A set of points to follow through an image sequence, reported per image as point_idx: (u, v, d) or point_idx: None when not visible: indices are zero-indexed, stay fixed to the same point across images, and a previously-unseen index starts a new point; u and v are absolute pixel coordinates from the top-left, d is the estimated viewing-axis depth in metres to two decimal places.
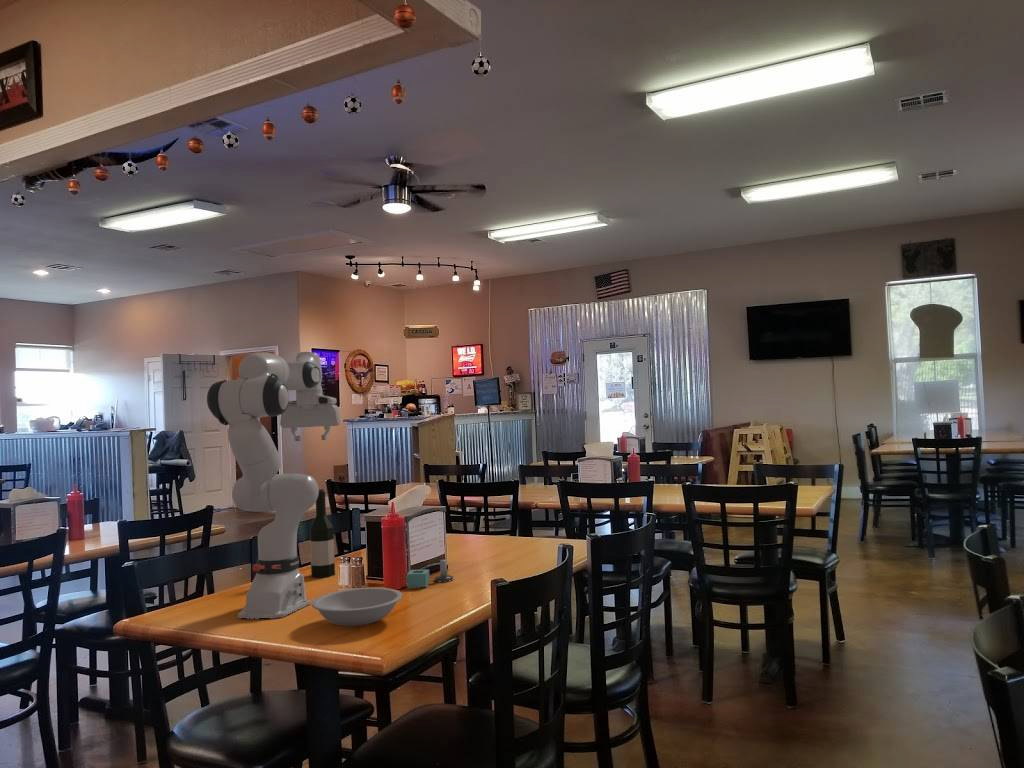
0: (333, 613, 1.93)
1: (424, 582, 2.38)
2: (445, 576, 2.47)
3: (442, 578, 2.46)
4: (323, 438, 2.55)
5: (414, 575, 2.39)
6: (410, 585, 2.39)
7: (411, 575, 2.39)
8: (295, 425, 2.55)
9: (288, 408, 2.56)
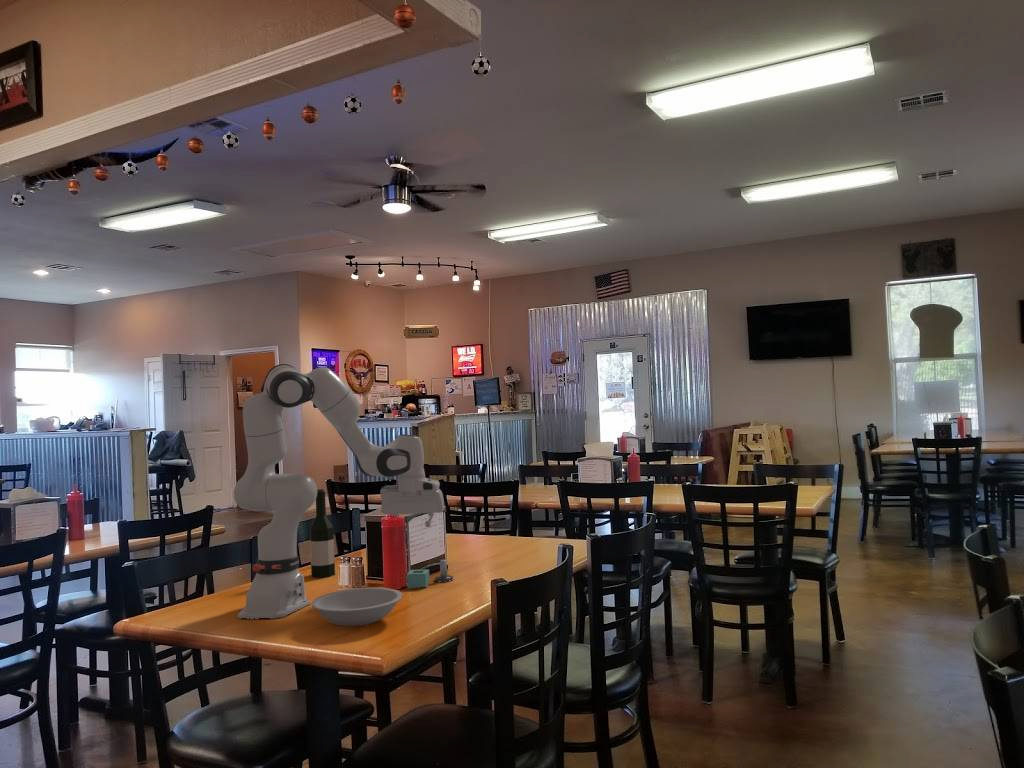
0: (333, 613, 1.93)
1: (424, 582, 2.38)
2: (445, 576, 2.47)
3: (442, 578, 2.46)
4: (427, 525, 2.41)
5: (414, 575, 2.39)
6: (410, 585, 2.39)
7: (411, 575, 2.39)
8: (397, 512, 2.41)
9: (390, 494, 2.41)
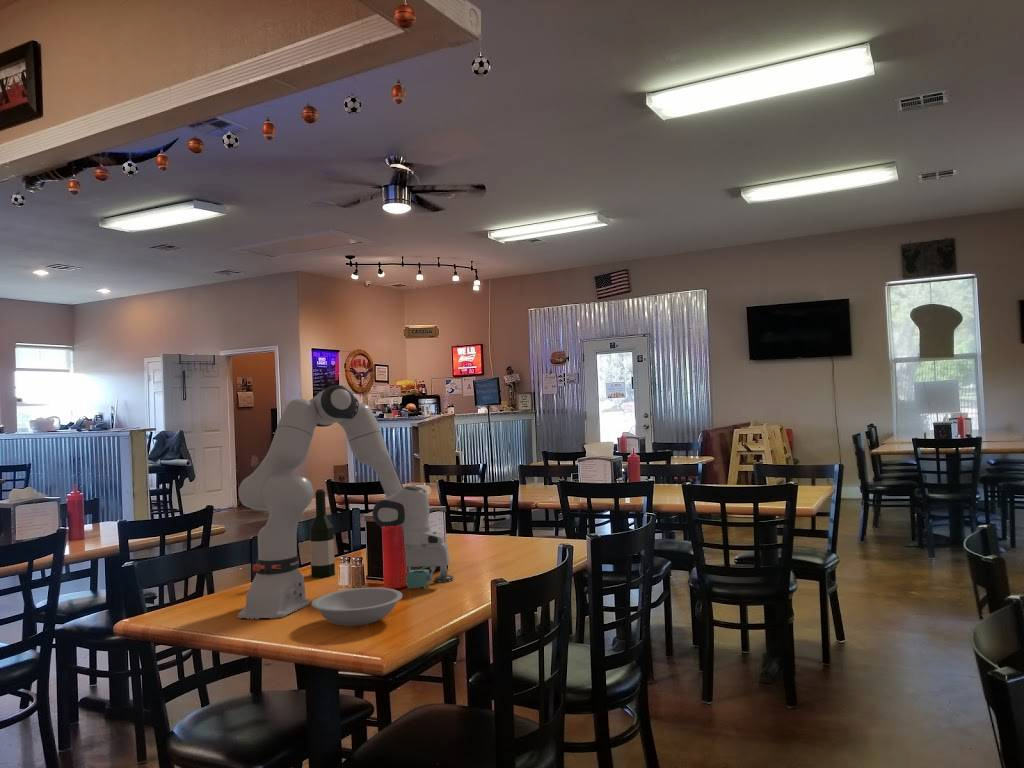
0: (333, 613, 1.93)
1: (424, 582, 2.38)
2: (445, 576, 2.47)
3: (442, 578, 2.46)
4: (428, 579, 2.40)
5: (414, 575, 2.39)
6: (410, 585, 2.39)
7: (411, 575, 2.39)
8: None
9: None
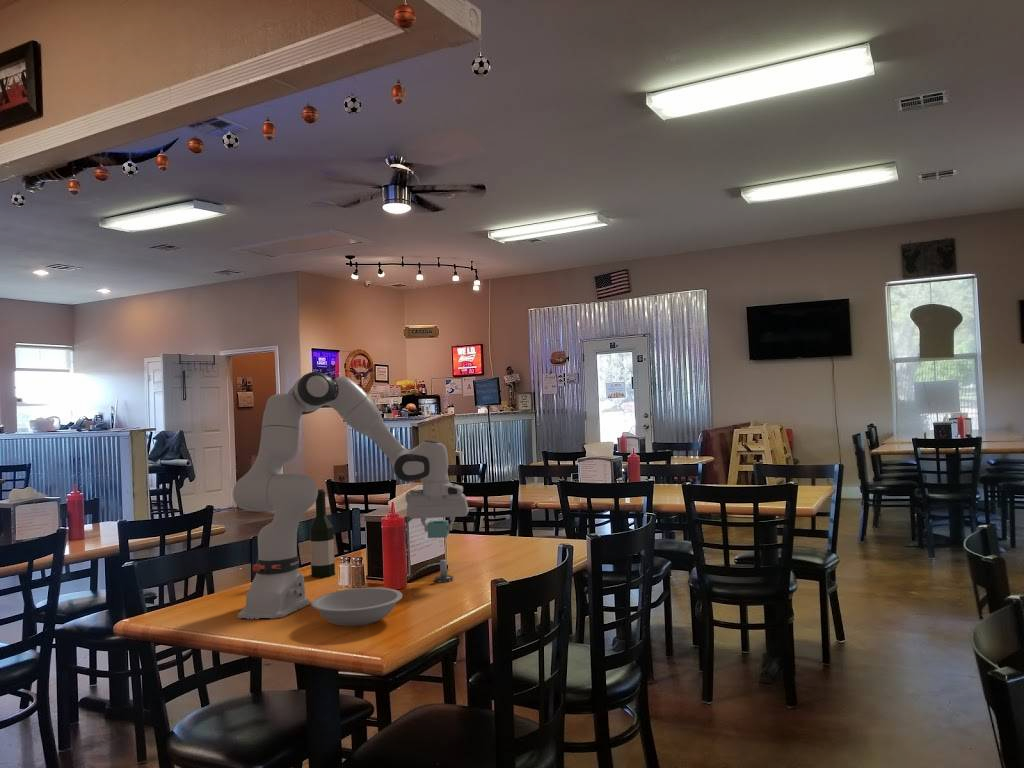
0: (333, 613, 1.93)
1: (444, 532, 2.45)
2: (445, 576, 2.47)
3: (442, 578, 2.46)
4: (448, 529, 2.47)
5: (434, 525, 2.45)
6: (430, 535, 2.45)
7: (431, 525, 2.45)
8: (423, 516, 2.47)
9: (415, 498, 2.47)
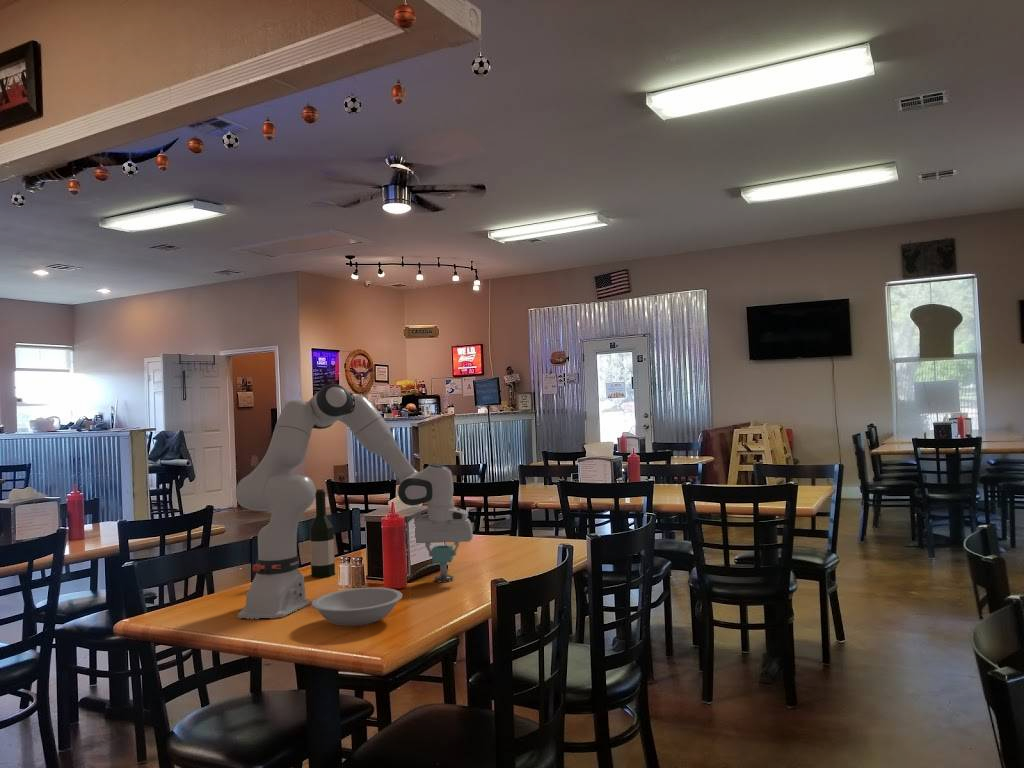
0: (333, 613, 1.93)
1: (449, 557, 2.45)
2: (445, 576, 2.47)
3: (442, 578, 2.46)
4: (453, 554, 2.47)
5: (439, 550, 2.45)
6: (435, 559, 2.45)
7: (436, 550, 2.45)
8: (427, 540, 2.47)
9: (420, 523, 2.47)
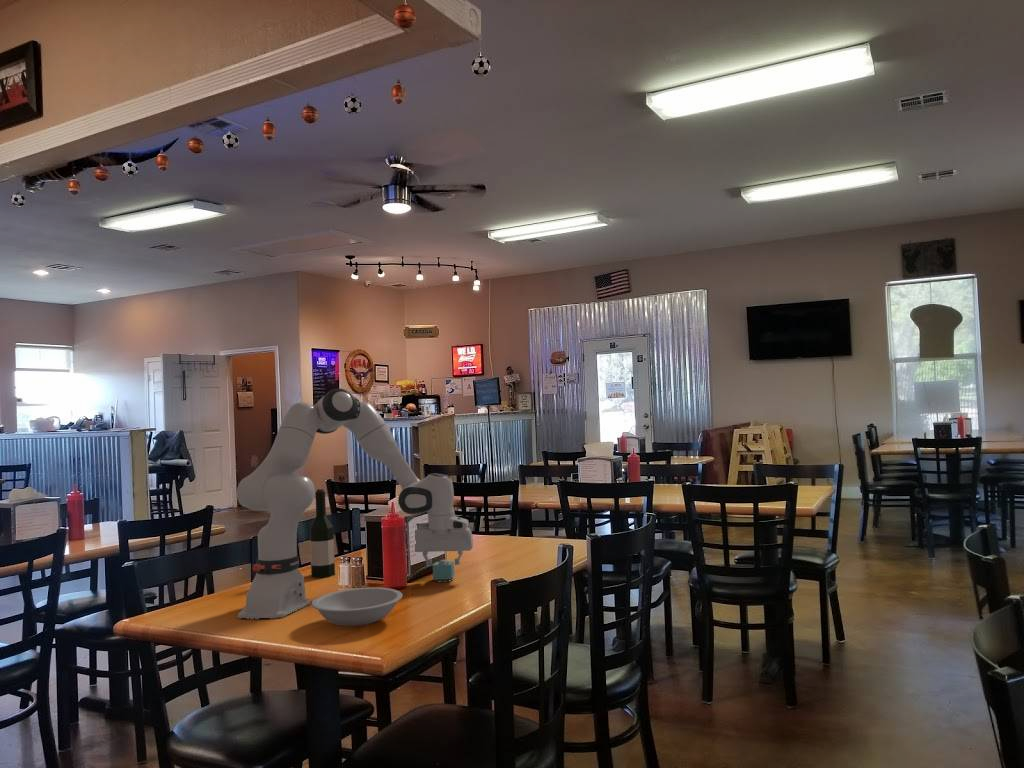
0: (333, 613, 1.93)
1: (449, 573, 2.45)
2: None
3: None
4: (456, 563, 2.47)
5: (440, 567, 2.45)
6: (436, 576, 2.45)
7: (437, 567, 2.45)
8: (428, 549, 2.47)
9: (420, 532, 2.47)
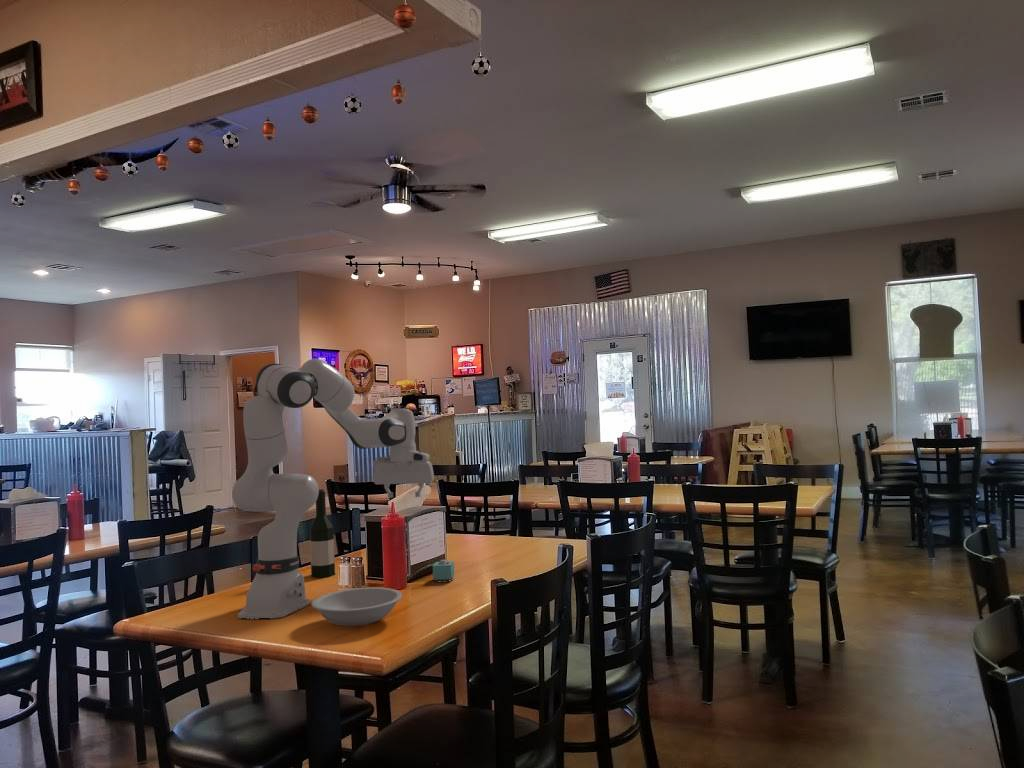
0: (333, 613, 1.93)
1: (449, 573, 2.45)
2: None
3: None
4: (417, 495, 2.52)
5: (440, 567, 2.45)
6: (436, 576, 2.45)
7: (437, 567, 2.45)
8: (389, 482, 2.52)
9: (382, 464, 2.53)
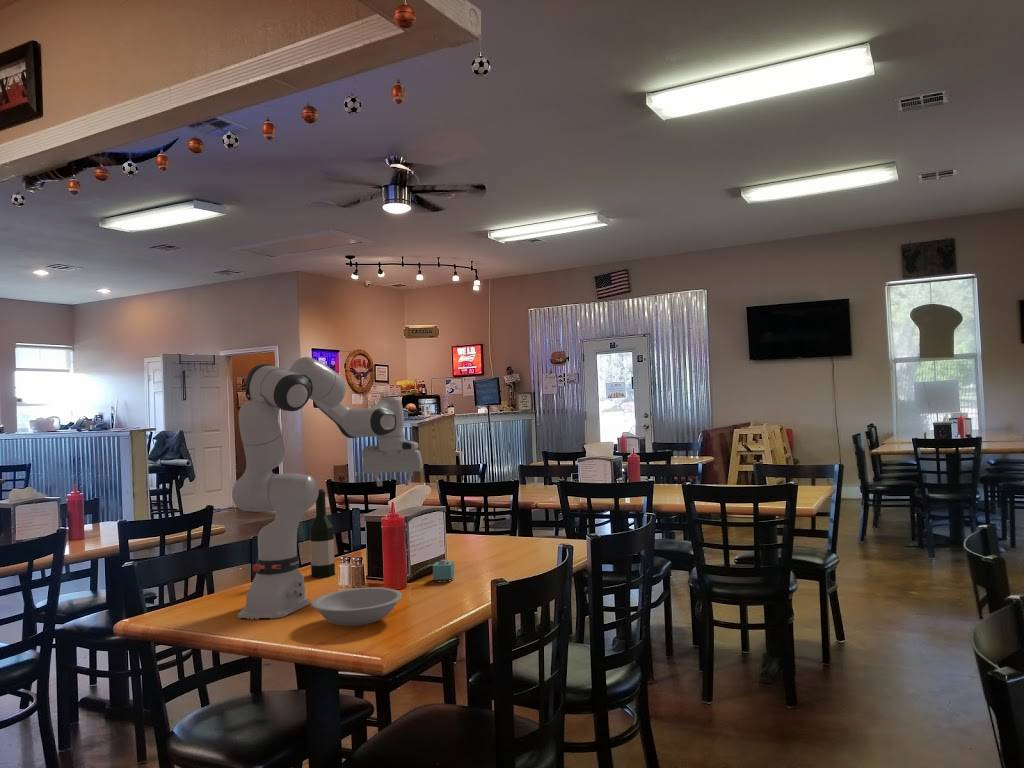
0: (333, 613, 1.93)
1: (449, 573, 2.45)
2: None
3: None
4: (406, 484, 2.54)
5: (440, 567, 2.45)
6: (436, 576, 2.45)
7: (437, 567, 2.45)
8: (378, 470, 2.54)
9: (371, 453, 2.54)
